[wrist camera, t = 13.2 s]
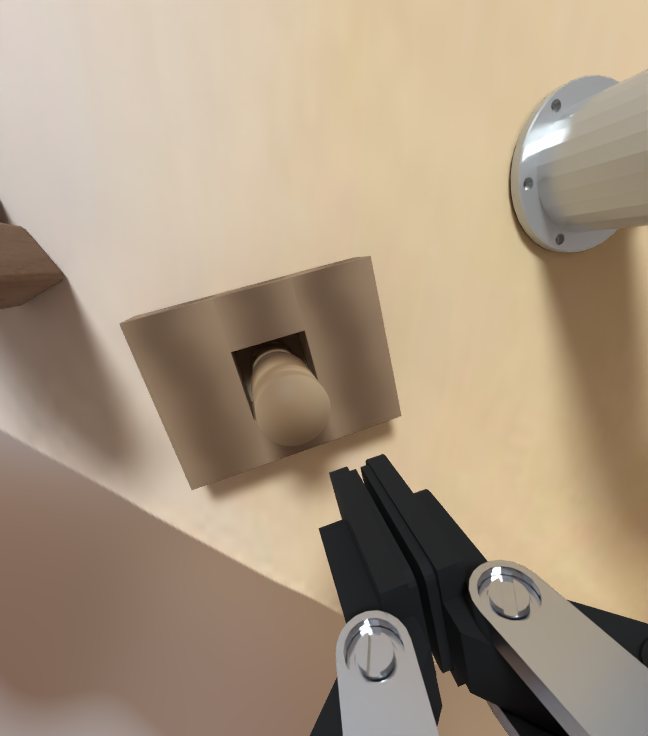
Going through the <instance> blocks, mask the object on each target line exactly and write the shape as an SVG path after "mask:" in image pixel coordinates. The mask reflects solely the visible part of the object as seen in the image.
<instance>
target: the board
mask: <svg viewBox="0 0 648 736" xmlns="http://www.w3.org/2000/svg"><path fill="white" fill-rule="evenodd" d="M120 327H121V329H122V331H123V333H124V336H125V338H126V340H127V343H128V345H129V347H130V349H131V352H132V354H133V356H134V359H135V361H136V363H137V366H138V368H139V370H140V372H141V375H142V377H143V379H144V382H145V384H146V386H147V388H148V391H149V393H150V395H151V398H152V400H153V402H154V405H155V407H156V409H157V411H158V414H159V416H160V418H161V421H162V423H163V425H164V427H165V430H166V432H167V434H168V437H169V439H170V441H171V444H172V446H173V448H174V450H175V453H176V455H177V457H178V460H179V462H180V464H181V466H182V469H183V471H184V473H185V476H186V478H187V480H188V482H189V485H190V487H191V489H192V490H194V489H197V488H199V487H202V486H205V485H208V484H211V483H214V482H216V481H219V480H222V479H225V478H228V477H230V476H233V475H236V474H239V473H242V472H245V471H247V470H250V469H253V468H256V467H259V466H261V465H264V464H267V463H270V462H273V461H276V460H278V459H281V458H284V457H287V456H290V455H293V454H295V453H298V452H301V451H304V450H307V449H309V448H312V447H315V446H318V445H321V444H324V443H326V442H329V441H332V440H335V439H338V438H341V437H343V436H346V435H349V434H352V433H355V432H357V431H360V430H363V429H366V428H369V427H372V426H374V425H377V424H380V423H383V422H386V421H389V420H391V419H394V418H397V417H400V416H401V411H400V406H399V401H398V396H397V391H396V385H395V380H394V375H393V370H392V365H391V360H390V354H389V349H388V344H387V339H386V334H385V328H384V323H383V318H382V313H381V308H380V303H379V297H378V292H377V287H376V282H375V277H374V271H373V266H372V261H371V256H367V257H356V258H351V259H347V260H343V261H339V262H336V263H332V264H328V265H324V266H321V267H317V268H313V269H310V270H306V271H302V272H298V273H295V274H291V275H287V276H283V277H280V278H276V279H272V280H269V281H265V282H261V283H257V284H254V285H250V286H246V287H242V288H239V289H235V290H231V291H228V292H224V293H220V294H216V295H213V296H209V297H205V298H201V299H198V300H194V301H190V302H187V303H183V304H179V305H175V306H172V307H168V308H164V309H160V310H157V311H153V312H149V313H146V314H142V315H138V316H134V317H132V318H130V319H128V320H126V321H124V322H122V323H120ZM297 332H298V333H299V337H300V340H301V344H302V347H303V351H304V355H305V358H306V362H307V366H308V369H309V370H310V371H311V372H312V374H313V375H314V376H315V378H316V379H317V380H318V382H319V383H320V384H321V386H322V387H323V388H324V390H325V391H326V393H327V395H328V397H329V400H330V416H329V419H328V422H327V424H326V426H325V428H324V429H323V430H322V432H321V433H320V434H319V435H318V436H317V437H315V438H314V439H312V440H311V441H309V442H307V443H304V444H301V445H296V446H284V445H280V444H277V443H275V442H273V441H271V440H269V439H268V438H267V437H266V436H265V435H264V434H263V433H262V432H261V430H260V428H259V426H258V423H257V419H256V414H255V408H254V402H251V400H250V397H249V394H248V391H247V388H246V385H245V383H244V380H243V377H242V374H241V371H240V368H239V365H238V362H237V359H236V356H235V353H234V351H237V350H240V349H243V348H247V347H250V346H254V345H257V344H260V343H264V342H267V341H270V340H274V339H277V338H281V337H284V336H287V335H291V334H294V333H297Z"/></svg>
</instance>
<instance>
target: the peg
mask: <svg viewBox="0 0 648 736" xmlns="http://www.w3.org/2000/svg"><path fill="white" fill-rule="evenodd" d="M251 364H252V370H253V373H252V376H251V390H252V396H253V402H254V408H255V414H256V419H257V423H258V426H259V428H260V430H261V432H262V433H263V434H264V435H265V436H266V437H267V438H268V439H269V440H271V441H273V442H275V443H277V444H280V445H284V446H296V445H301V444H304V443H307V442H309V441H311V440H312V439H314V438H315V437H317V436H318V435H319V434H320V433H321V432H322V430H323V429H324V428H325V426H326V424H327V422H328V419H329V416H330V400H329V397H328V395H327V393H326V391H325V390H324V388H323V387H322V386H321V384H320V383H319V382H318V380H317V379H316V378H315V376H314V375H313V374H312V372H311V371H310V370H309V369H308V367H307V366H306V365H305V363H304V362H303V361H302V360H301V359H299V358H298V357H296V356H294V355H293V354H292V353H291V352H290V350H289V349H288V348H287V347H286V346H285V345H283V344H281V343H277V342H268V343H265V344H263V345H261V346H260V347H258V348H257V349H256V351H255V352H254V354H253V356H252V361H251Z"/></svg>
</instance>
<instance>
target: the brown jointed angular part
mask: <svg viewBox="0 0 648 736" xmlns="http://www.w3.org/2000/svg"><path fill="white" fill-rule="evenodd" d="M63 277H64V275H63V273H62V272H61V270H60V269H59V268H58V267H57V266H56V265H55V263H54V262H53V261H52V260H51V259H50V257H49V256H48V255H47V254H46V253H45V252H44V250H43V249H42V248H41V247H40V246H39V245H38V243H37V242H36V241H35V240H34V239H33V238H32V236H31V235H30V234H29V233H28V232H27V231H26V229H24V228H22V227H21V226H16V225H11V224H6V223H1V222H0V309H2V308H8V307H14V306H19V305H22V304H24V303H25V302H27V301H29V300H30V299H32V298H33V297H35V296H37V295H38V294H40V293H42V292H43V291H45V290H47V289H48V288H50V287H51V286H53V285H55V284H56V283H58V282H60V281H61V280H62V279H63Z"/></svg>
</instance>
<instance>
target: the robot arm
mask: <svg viewBox="0 0 648 736" xmlns="http://www.w3.org/2000/svg"><path fill="white" fill-rule="evenodd" d="M511 194H512V200H513V205H514V209H515V212H516V215H517V217H518V220H519V222H520V224H521V225H522V227H523V229H524V230H525V232H526V233H527V235H528V236H529V237H530V238H531V239H532V240H533V241H534V242H535V243H537V244H538V245H540V246H542V247H543V248H545V249H548V250H551V251H554V252H564V253H569V252H581V251H584V250H588V249H591V248H593V247H595V246H597V245H599V244H601V243H603V242H604V241H605V240H607V239H608V238H609V237H610V236H612V235H613V234H614V233H615V232H616V231H617V230H618V229H619V228H626V227H636V226H645V225H648V69H647V70H645V71H643V72H641V73H639V74H636V75H634V76H632V77H630V78H628V79H626V80H624V81H622V82H618V81H616V80H614V79H613V78H610V77H606V76H601V75H590V76H583V77H580V78H577V79H575V80H572V81H570V82H568V83H566V84H565V85H563V86H561V87H559V88H557V89H556V90H554V91H553V92H552V93H551V94H549V95H548V96H547V97H545V98H544V99H543V100H542V102H541V103H540V104H539V105H538V106H537V107H536V108H535V109H534V111H533V112H532V114H531V115H530V117H529V118H528V120H527V122H526V123H525V125H524V127H523V129H522V132H521V134H520V136H519V139H518V141H517V144H516V148H515V152H514V156H513V160H512V169H511ZM361 472H362V477H363V481H364V483H363V481H362V479H361V477H360V476H359V474H358V472H357V470H356V469H354V470H351V471H349V469H348V467H344V468H341V469H339V470H336V471H333V472H330V473H329V474H330V478H331V482H332V485H333V489H334V493H335V496H336V500H337V503H338V507H339V510H340V514H341V518H342V520H340V521H338V522H335V523H332V524H329V525H327V526H324V527H321V528H319V531H320V535H321V538H322V542H323V545H324V548H325V552H326V555H327V559H328V562H329V566H330V569H331V573H332V576H333V579H334V583H335V586H336V590H337V593H338V597H339V600H340V604H341V607H342V611H343V614H344V617H345V621H346V625H345V627H344V628H343V630H342V631H341V633H340V635H339V638H338V641H337V644H336V667H337V678H336V681H335V683H334V685H333V687H332V689H331V691H330V693H329V696H328V698H327V700H326V702H325V704H324V706H323V709H322V711H321V713H320V715H319V717H318V719H317V721H316V724H315V726H314V728H313V730H312V732H311V734H310V736H439V733H438V729H437V725H438V721H439V717H440V713H441V709H442V702H441V697H440V693H439V688H438V683H437V678H436V671H435V667H434V662H433V657H432V654H433V656H434V658H435V660H436V662H437V664H438V666H439V668H440V670H441V671H442V672H443V673H445V672H447V671H449V670H450V671H451V673H452V675H453V677H454V679H455V681H456V683H457V685H458V687H459V686H461V685H463V684H465V683H466V685H467V687H468V689H469V691H470V693H472V694H474V695H476V696H478V697H481V698H483V699H485V700H486V701H487V703H488V705H489V706H490V708H491V710H492V712H493V714H494V715H495V716H496V718H497V719H498V721H499V722H500V723H501V725H502V726H503V728H504V729H505V731H506V732H507V733H508V735H509V736H648V624H647V623H644V622H640V621H637V620H633V619H630V618H627V617H623V616H620V615H617V614H613V613H610V612H606V611H603V610H600V609H596V608H593V607H590V606H586V605H583V604H579V603H576V602H573V601H569V600H566V599H565V598H564V597H563V596H561V595H560V594H559V593H558V592H557V591H556V590H554V589H553V588H552V587H551V586H550V585H548V584H547V583H546V582H545V581H544V580H543V579H541V578H540V577H539V576H538V575H537V574H535V573H534V572H532V571H531V570H529V569H528V568H526V567H525V566H522V565H520V564H517V563H515V562H511V561H505V560H495V561H489V562H488V561H487V560H486V559H485V558H484V556H483V555H482V554H481V553H480V551H479V550H478V549H477V548H476V547H475V545H474V544H473V543H472V542H471V541H470V539H469V538H468V537H467V536H466V534H465V533H464V532H463V531H462V530H461V528H460V527H459V526H458V525H457V524H456V522H455V521H454V520H453V519H452V517H451V516H450V515H449V514H448V513H447V511H446V510H445V509H444V508H443V506H442V505H441V504H440V503H439V502H438V500H437V499H436V498H435V497H434V496H433V494H432V493H431V492H430V491H429V490H427V489H425V490H422V491H419V492H416V493H413V492H412V491H411V489H410V488H409V487H408V485H407V484H406V483H405V481H404V480H403V479H402V477H401V476H400V475H399V473H398V472H397V471H396V469H395V468H394V467H393V465H392V464H391V462H390V461H389V460H388V458H387V457H386V456H385V455H384V454H382V455H379V456H376V457H373V458H370V459H367V460H366V466H363V467H361Z"/></svg>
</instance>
